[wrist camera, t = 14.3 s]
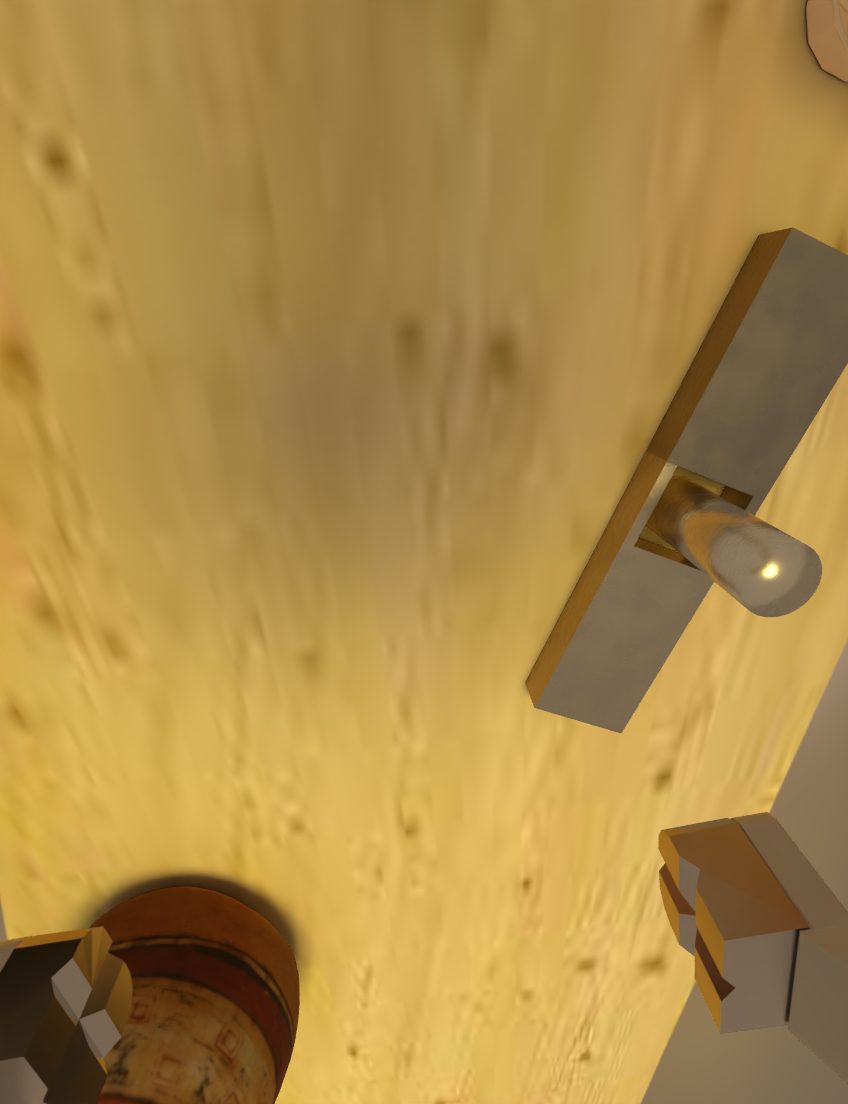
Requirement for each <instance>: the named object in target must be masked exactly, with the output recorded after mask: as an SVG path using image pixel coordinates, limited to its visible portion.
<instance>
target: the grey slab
mask: <svg viewBox="0 0 848 1104" xmlns="http://www.w3.org/2000/svg"><path fill="white" fill-rule="evenodd" d="M847 363H848V255H846V254H844V253H842V252H840V251H838V250H836V249H834V248H832V247H830V246H828V245H826V244H824V243H822V242H820V241H818V240H816V239H814V238H812V237H810V236H808V235H806V234H804V233H802V232H800V231H799V230H797V229H795V228H789V229H784V230H779V231H775V232H770V233H765V234H761V235H759V236H758V238H757V240H756V242H755V244H754V246H753V248H752V250H751V252H750V254H749V256H748V257H747V259H746V261H745V263H744V265H743V267H742V269H741V271H740V273H739V275H738V277H737V279H736V280H735V282H734V284H733V286H732V288H731V290H730V292H729V294H728V296H727V298H726V300H725V302H724V303H723V305H722V307H721V309H720V311H719V313H718V315H717V317H716V319H715V321H714V323H713V325H712V326H711V328H710V330H709V332H708V334H707V336H706V338H705V340H704V342H703V344H702V346H701V348H700V349H699V351H698V353H697V355H696V357H695V359H694V361H693V363H692V365H691V367H690V369H689V371H688V372H687V374H686V376H685V378H684V380H683V382H682V384H681V386H680V388H679V390H678V392H677V394H676V395H675V397H674V399H673V401H672V403H671V405H670V407H669V409H668V411H667V413H666V415H665V417H664V418H663V420H662V422H661V424H660V426H659V428H658V430H657V432H656V434H655V436H654V438H653V439H652V441H651V443H650V445H649V447H648V449H647V451H646V453H645V455H644V457H643V459H642V461H641V462H640V464H639V466H638V468H637V470H636V472H635V474H634V476H633V478H632V480H631V482H630V484H629V485H628V487H627V489H626V491H625V493H624V495H623V497H622V499H621V501H620V503H619V505H618V507H617V508H616V510H615V512H614V514H613V516H612V518H611V520H610V522H609V524H608V526H607V528H606V530H605V531H604V533H603V535H602V537H601V539H600V541H599V543H598V545H597V547H596V549H595V551H594V553H593V554H592V556H591V558H590V560H589V562H588V564H587V566H586V568H585V570H584V572H583V574H582V576H581V577H580V579H579V581H578V583H577V585H576V587H575V589H574V591H573V593H572V595H571V597H570V599H569V600H568V602H567V604H566V606H565V608H564V610H563V612H562V614H561V616H560V618H559V620H558V622H557V623H556V625H555V627H554V629H553V631H552V633H551V635H550V637H549V639H548V641H547V643H546V644H545V646H544V648H543V650H542V652H541V654H540V656H539V658H538V660H537V662H536V664H535V666H534V667H533V669H532V671H531V673H530V675H529V677H528V679H527V681H526V686H527V688H528V691H529V694H530V697H531V699H532V702H533V705H534V708H537V709H541V710H544V711H547V712H551V713H554V714H558V715H561V716H564V717H568V718H571V719H574V720H578V721H581V722H584V723H588V724H591V725H595V726H598V727H601V728H605V729H608V730H611V731H615V732H618V733H622V731H623V730H624V728H625V726H626V725H627V723H628V721H629V720H630V718H631V717H632V715H633V713H634V712H635V710H636V708H637V707H638V705H639V703H640V702H641V700H642V699H643V697H644V695H645V694H646V692H647V690H648V689H649V687H650V685H651V684H652V682H653V681H654V679H655V677H656V676H657V674H658V672H659V671H660V669H661V668H662V666H663V664H664V663H665V661H666V659H667V658H668V656H669V654H670V653H671V651H672V650H673V648H674V646H675V645H676V643H677V641H678V640H679V638H680V636H681V635H682V633H683V632H684V630H685V628H686V627H687V625H688V623H689V622H690V620H691V618H692V617H693V615H694V614H695V612H696V610H697V609H698V607H699V605H700V604H701V602H702V600H703V599H704V597H705V596H706V594H707V592H708V591H709V589H710V587H711V586H712V584H713V582H714V581H713V580H712V579H711V578H710V577H708V576H707V575H706V574H705V573H704V572H702V571H701V570H700V569H699V568H697V567H696V566H695V565H694V564H693V563H691V562H690V561H689V560H688V559H687V558H685V557H684V556H683V555H682V554H681V553H678V552H675V551H672V550H670V549H667V548H664V547H662V546H659V545H656V544H653V543H651V542H648V541H645V540H643V539H640V538H639V536H640V534H641V532H642V530H643V528H644V527H645V525H646V523H647V521H648V519H649V517H650V516H651V514H652V512H653V510H654V508H655V506H656V505H657V503H658V501H659V499H660V497H661V495H662V494H663V492H664V490H665V488H666V486H667V484H668V483H669V481H670V479H671V477H672V475H673V473H674V472H675V470H676V468H677V466H679V467H682V468H684V469H687V470H689V471H692V472H694V473H697V474H699V475H702V476H704V477H707V478H709V479H712V480H714V481H717V482H719V483H722V484H724V485H727V486H726V487H725V489H724V491H723V492H722V494H721V496H720V497H721V498H723V499H725V500H727V501H729V502H730V503H732V504H734V505H736V506H738V507H739V508H741V509H743V510H745V511H747V512H748V513H750V514H752V515H755V514H756V512H757V511H758V509H759V507H760V506H761V504H762V502H763V501H764V499H765V497H766V496H767V494H768V493H769V491H770V489H771V488H772V486H773V484H774V483H775V481H776V479H777V478H778V476H779V475H780V473H781V471H782V470H783V468H784V466H785V465H786V463H787V462H788V460H789V458H790V457H791V455H792V453H793V452H794V450H795V448H796V447H797V445H798V444H799V442H800V440H801V439H802V437H803V435H804V434H805V432H806V430H807V429H808V427H809V426H810V424H811V422H812V421H813V419H814V417H815V416H816V414H817V412H818V411H819V409H820V408H821V406H822V404H823V403H824V401H825V399H826V398H827V396H828V394H829V393H830V391H831V390H832V388H833V386H834V385H835V383H836V381H837V380H838V378H839V377H840V375H841V373H842V372H843V370H844V368H845V367H846V365H847Z"/></svg>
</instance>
